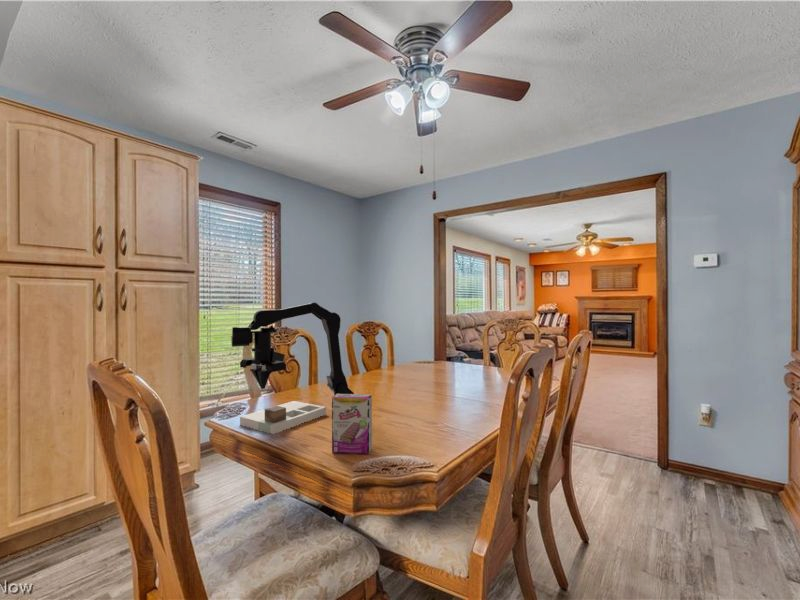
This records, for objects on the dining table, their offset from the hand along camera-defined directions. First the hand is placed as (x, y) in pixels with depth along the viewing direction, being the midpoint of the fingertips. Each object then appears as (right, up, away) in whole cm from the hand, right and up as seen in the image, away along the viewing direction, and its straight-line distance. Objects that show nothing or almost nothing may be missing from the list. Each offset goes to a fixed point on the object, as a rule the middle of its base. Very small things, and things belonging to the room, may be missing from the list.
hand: (262, 388), depth 137 cm
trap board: (+6, -13, +5) cm, 15 cm away
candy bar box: (+35, -13, -25) cm, 45 cm away
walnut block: (+6, -10, -5) cm, 12 cm away
